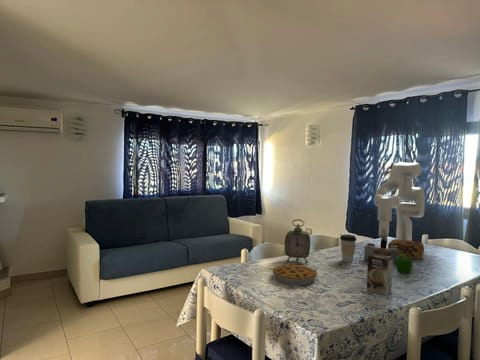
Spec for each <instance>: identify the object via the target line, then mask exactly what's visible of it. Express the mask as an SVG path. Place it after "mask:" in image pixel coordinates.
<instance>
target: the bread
mask: <svg viewBox="0 0 480 360" xmlns="http://www.w3.org/2000/svg"><path fill="white" fill-rule="evenodd" d="M391 246H397V250H398V257H399V254H403V255H404V256H405V257H407V258H410V259H412V260H420V259H423V257H424V255H425V254H424V253H425V246H424V243H422V242H420V241H413V240H411V241H408V240H399V239H396V238H395V239H392V240H390V242H387V249H391ZM400 257H403V256H400Z"/></svg>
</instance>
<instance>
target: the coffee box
mask: <svg viewBox="0 0 480 360" xmlns="http://www.w3.org/2000/svg"><path fill="white" fill-rule="evenodd" d="M393 266H394V265H393V257H390V256H383V255H379V254H371V255H368V261H367V272H366V273H367V277H366V278H367V279H366V291H370V292H372V293H375V294H379V293H380V295H382V294H383V296H388V295H390V294H391V293H392V285H393V283H392V282H393V281H392V280H393ZM387 294H388V295H387Z"/></svg>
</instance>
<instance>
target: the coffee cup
mask: <svg viewBox="0 0 480 360" xmlns="http://www.w3.org/2000/svg"><path fill="white" fill-rule="evenodd" d="M339 239H340V245H341V246H340V247H341V255H342V259H341V260H342V261H343V262H345V263H353V260H354V254H355V247H356V241H357V238H356V236H355V235H353V234H341V236H340V237H339Z"/></svg>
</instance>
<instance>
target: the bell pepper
mask: <svg viewBox="0 0 480 360" xmlns="http://www.w3.org/2000/svg"><path fill="white" fill-rule="evenodd" d="M401 256H403V257H401ZM413 263H414V261H413V259H410V258H407V257H405V256H404V255H403V254H399V256H398V257H396V265H395V268H396V271H397V273H400V274H407V275H408V274H410V273H411V272H412V269H413Z"/></svg>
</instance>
